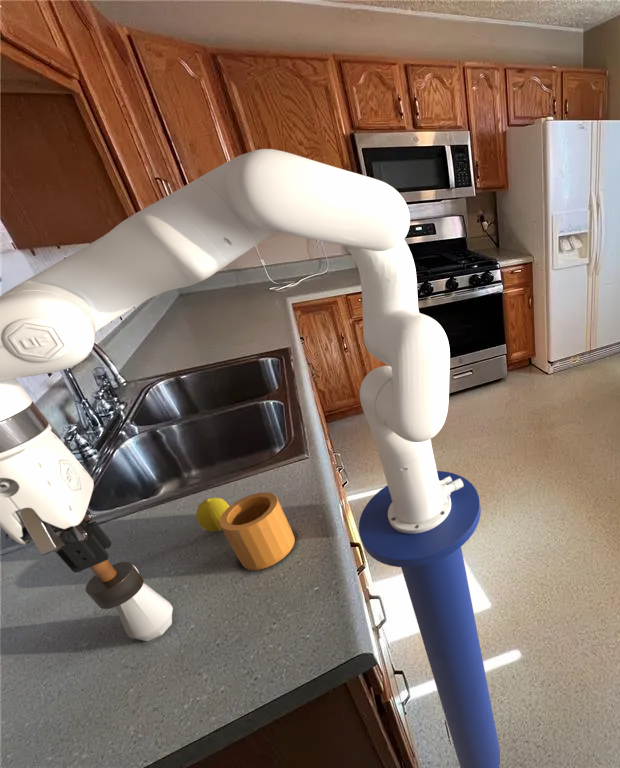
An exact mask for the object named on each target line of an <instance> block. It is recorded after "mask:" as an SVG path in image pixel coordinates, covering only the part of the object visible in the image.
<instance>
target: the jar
mask: <svg viewBox="0 0 620 768" xmlns="http://www.w3.org/2000/svg"><path fill="white" fill-rule="evenodd" d="M229 506H230V507H229V508H227V509H226V510H225V512H224V513H223V514H222V516H221V518H220V520H219V521H220V526H221V528H222V530H221V531H222V532H223V534H224V535H225V537H226V539H227V541H228V543H229V545H230V547H231V548H232V550H233V552H234V554H235V555H236V557H237V559H238V560H239V563H240V564H241V565H242V567H243V568H245V569H247V570H250V571H257V570H258V571H259V570H263V569H266V568H269V567H272V566H273V565H275V564H277V563H279V562H280V561H282V560H283V559H284V558H285V557H286V556H287V555H289V553H290V552H291V551H292V549H293V547H294V546H295V543H296V542H295V539H296V538H295V535H294V532H293V530H292V528H291V525H290V523H289V521H288V518H287V517H286V516H287V515H286V514H285V512H284V510H283V508H282V506H281V503H280V501H279V499H278V497H277V495H275V493H272V492H267V491H266V492H264V491H263V492H256V493H252V494H250V495H247V496H245V497H242V498H240V499H238V500H237V501H234V502H233V503H232V504H231V505H229Z"/></svg>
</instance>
